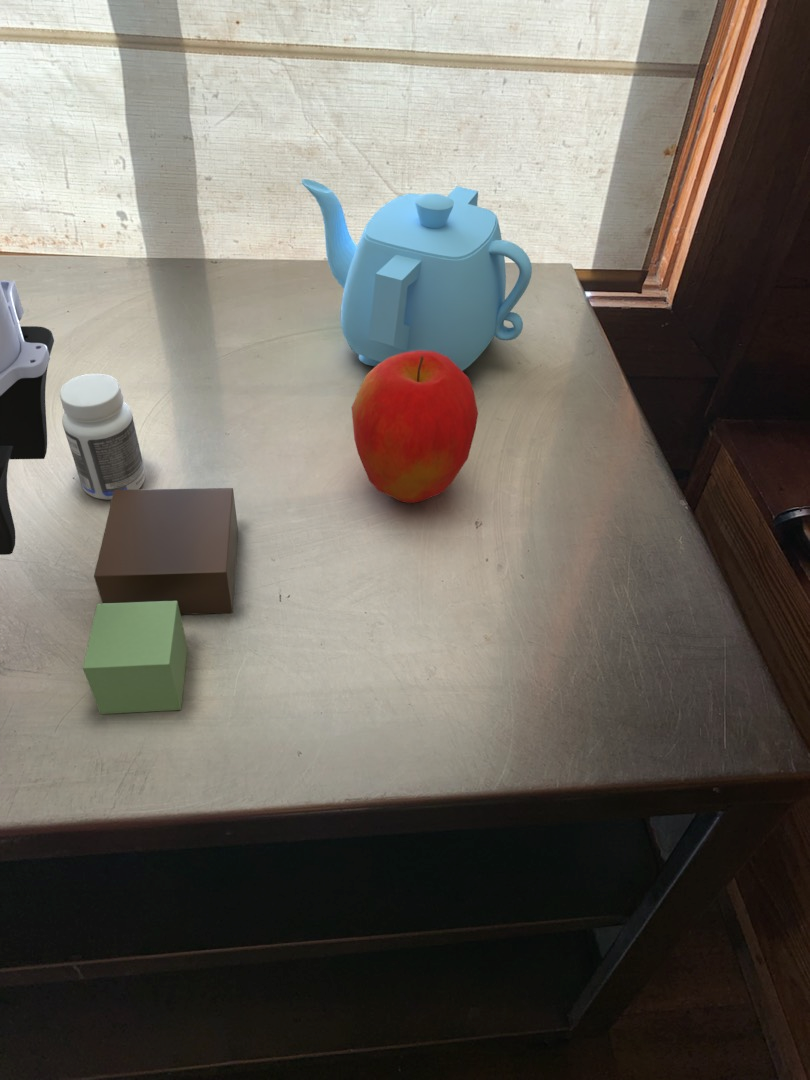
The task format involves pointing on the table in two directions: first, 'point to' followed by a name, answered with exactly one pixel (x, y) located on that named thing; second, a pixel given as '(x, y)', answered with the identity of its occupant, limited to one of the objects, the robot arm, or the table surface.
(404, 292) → the teapot
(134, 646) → the green block
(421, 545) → the table surface
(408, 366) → the apple
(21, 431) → the robot arm
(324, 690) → the table surface
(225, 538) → the walnut base
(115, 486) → the pill bottle
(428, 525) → the table surface
